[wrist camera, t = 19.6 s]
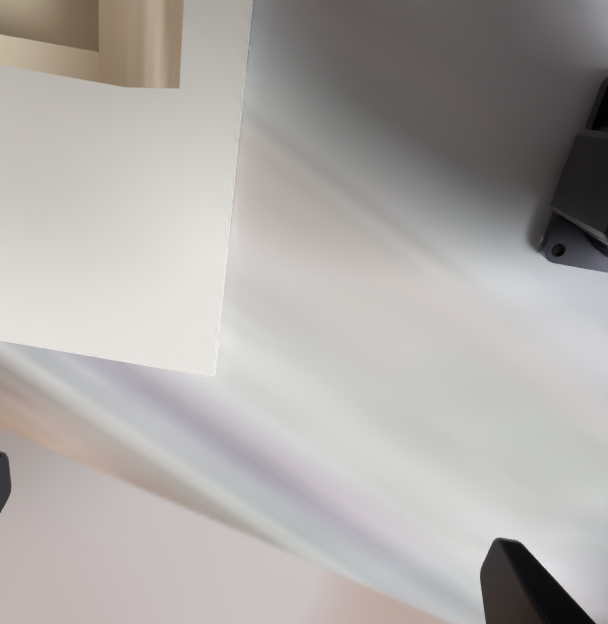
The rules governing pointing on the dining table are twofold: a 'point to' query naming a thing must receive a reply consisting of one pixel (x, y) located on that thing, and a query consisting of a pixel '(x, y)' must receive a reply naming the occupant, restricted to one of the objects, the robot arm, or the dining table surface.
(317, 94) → the dining table surface
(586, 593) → the dining table surface
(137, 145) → the track board
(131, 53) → the beige open tray
